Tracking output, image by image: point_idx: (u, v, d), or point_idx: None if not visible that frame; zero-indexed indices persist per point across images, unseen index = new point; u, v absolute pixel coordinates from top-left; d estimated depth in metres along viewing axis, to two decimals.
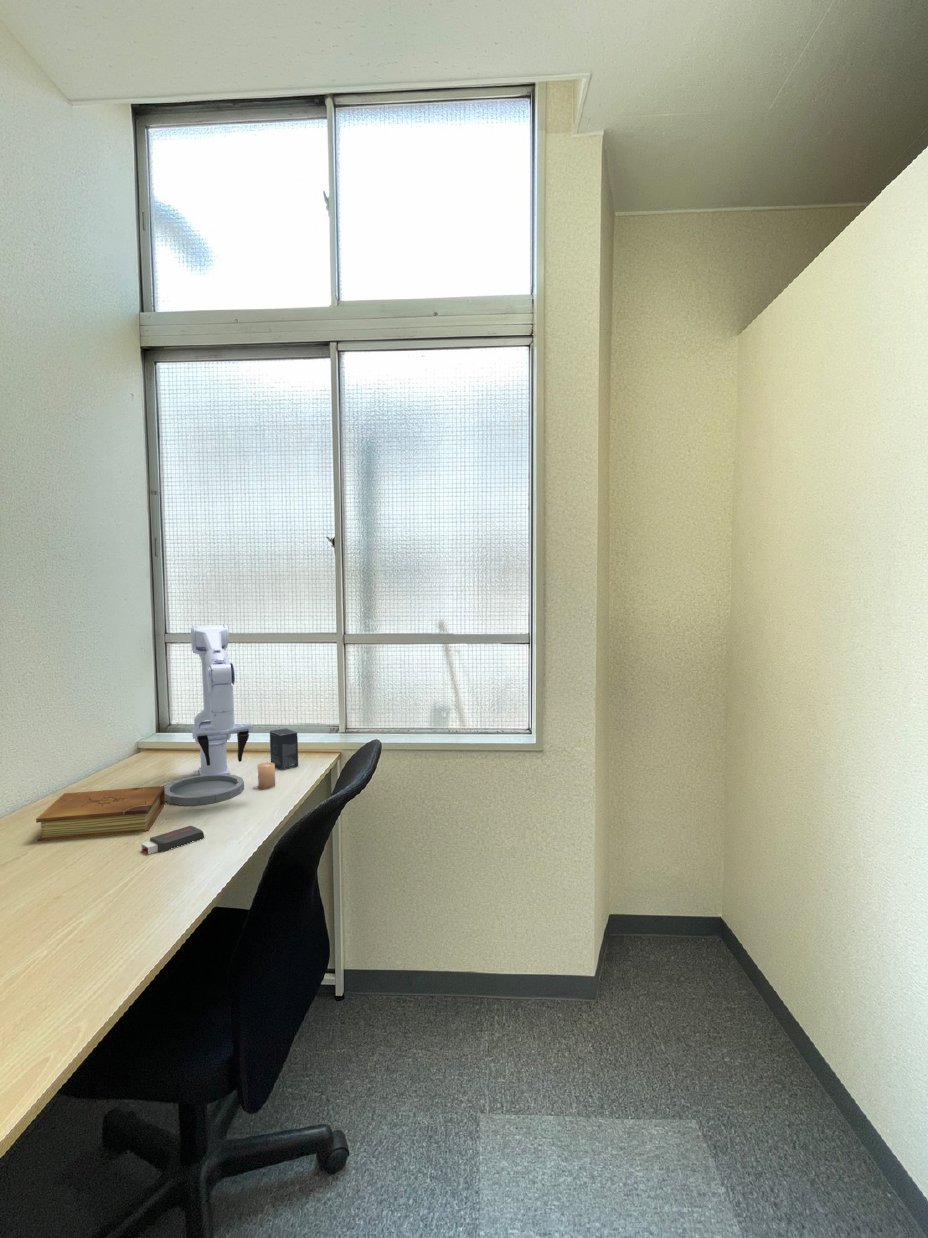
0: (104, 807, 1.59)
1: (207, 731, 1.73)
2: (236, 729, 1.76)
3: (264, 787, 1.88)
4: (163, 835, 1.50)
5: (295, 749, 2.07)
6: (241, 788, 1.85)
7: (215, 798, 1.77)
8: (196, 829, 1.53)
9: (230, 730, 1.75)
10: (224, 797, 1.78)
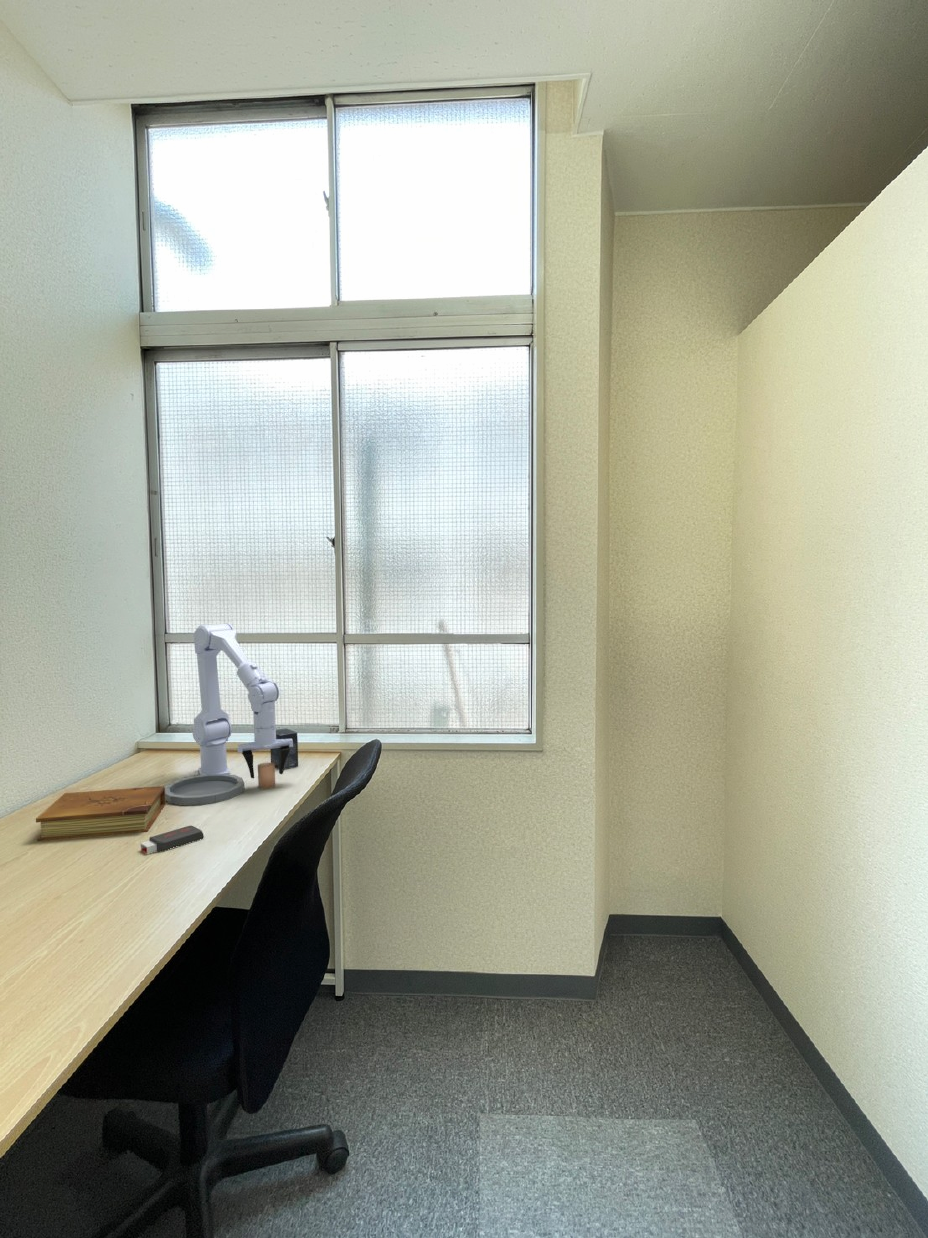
0: (104, 807, 1.59)
1: (251, 746, 1.86)
2: (278, 744, 1.88)
3: (264, 787, 1.88)
4: (162, 835, 1.50)
5: (295, 749, 2.07)
6: (241, 788, 1.85)
7: (215, 798, 1.77)
8: (196, 829, 1.53)
9: (273, 745, 1.87)
10: (224, 797, 1.78)
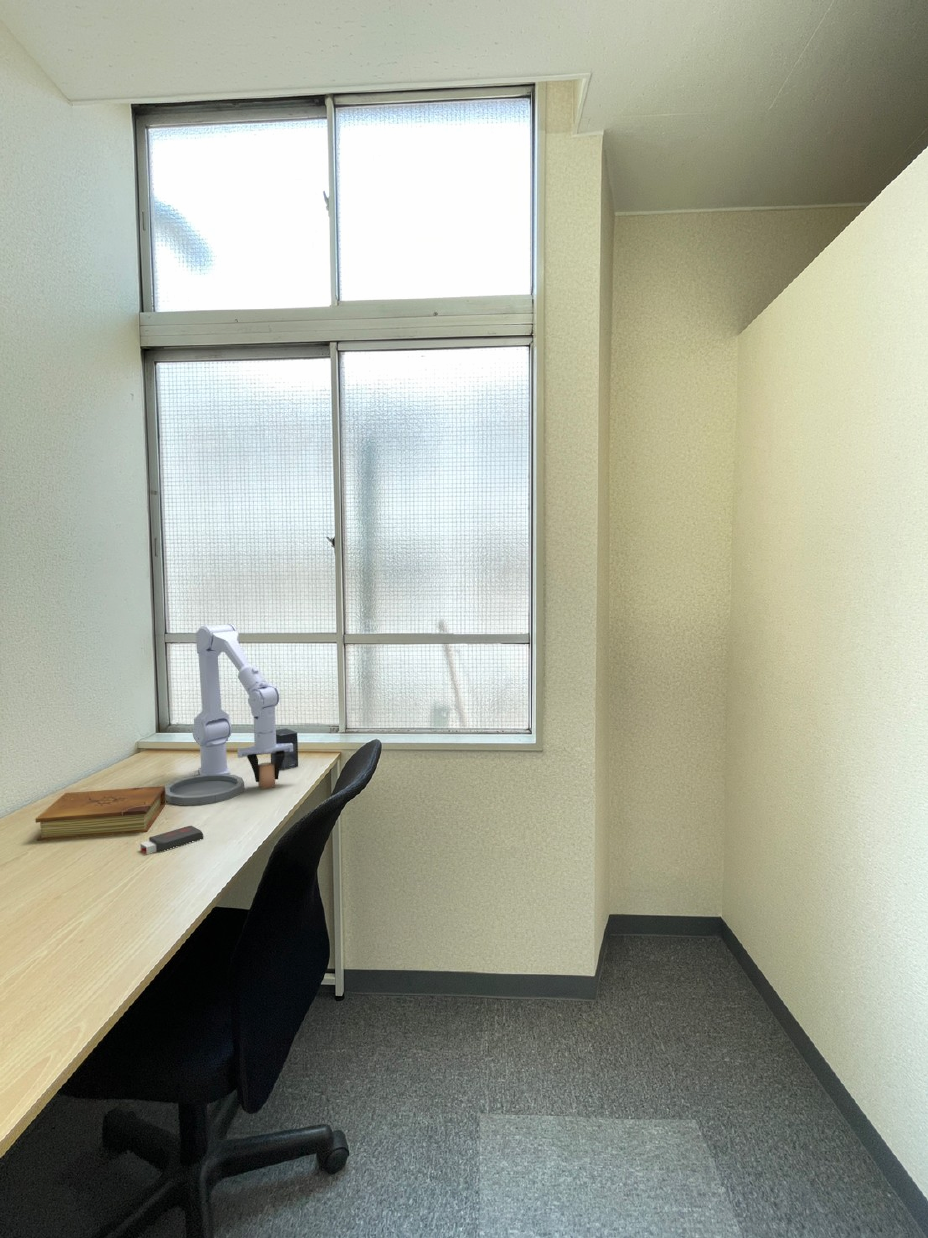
0: (104, 807, 1.59)
1: (252, 751, 1.86)
2: (278, 748, 1.88)
3: (264, 787, 1.87)
4: (162, 835, 1.50)
5: (295, 749, 2.07)
6: (241, 788, 1.85)
7: (215, 798, 1.77)
8: (195, 829, 1.53)
9: (273, 750, 1.87)
10: (224, 797, 1.78)
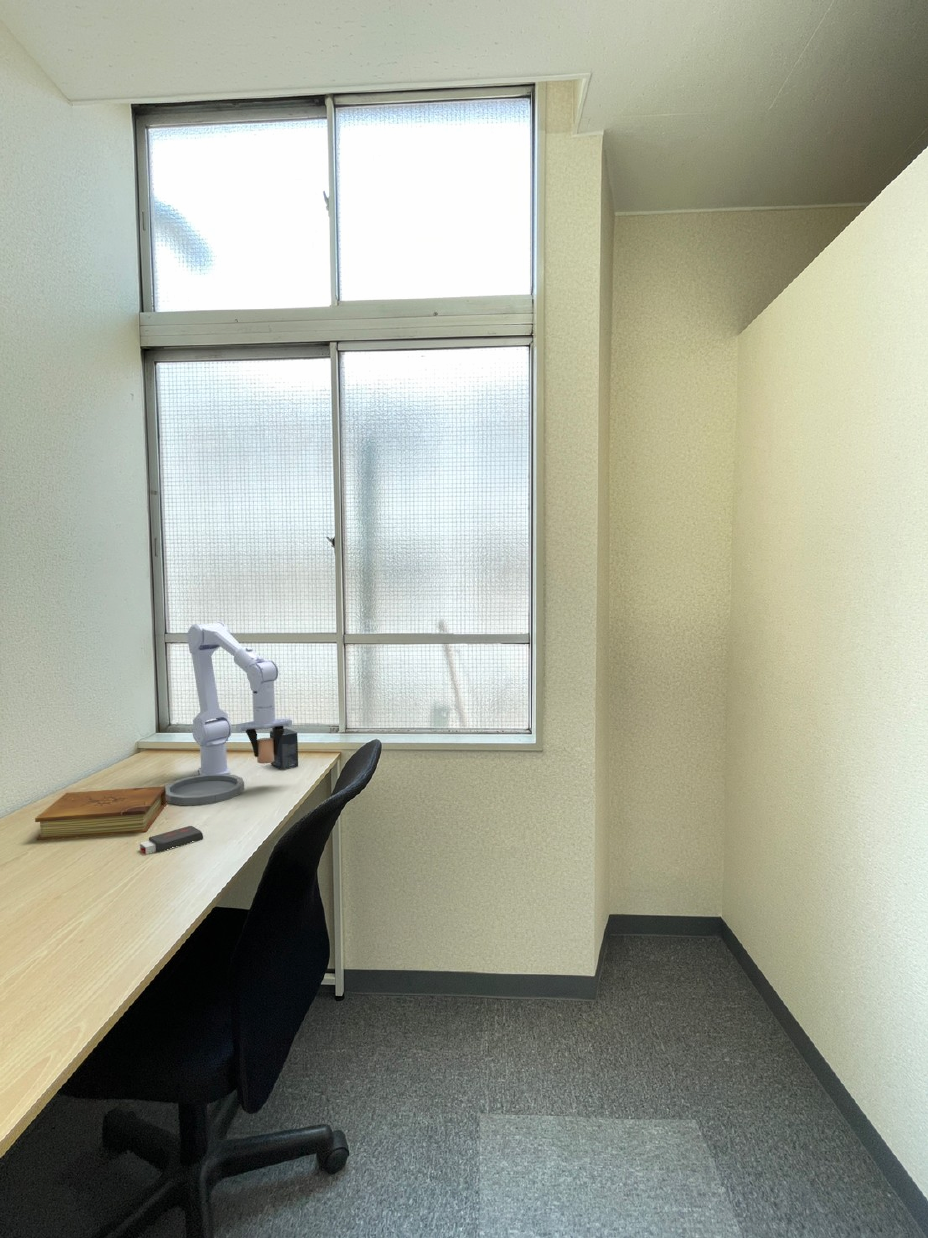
0: (103, 807, 1.59)
1: (250, 725, 1.85)
2: (277, 723, 1.88)
3: (263, 762, 1.87)
4: (162, 835, 1.50)
5: (295, 749, 2.07)
6: (241, 788, 1.85)
7: (215, 798, 1.77)
8: (195, 829, 1.53)
9: (272, 724, 1.87)
10: (224, 797, 1.78)
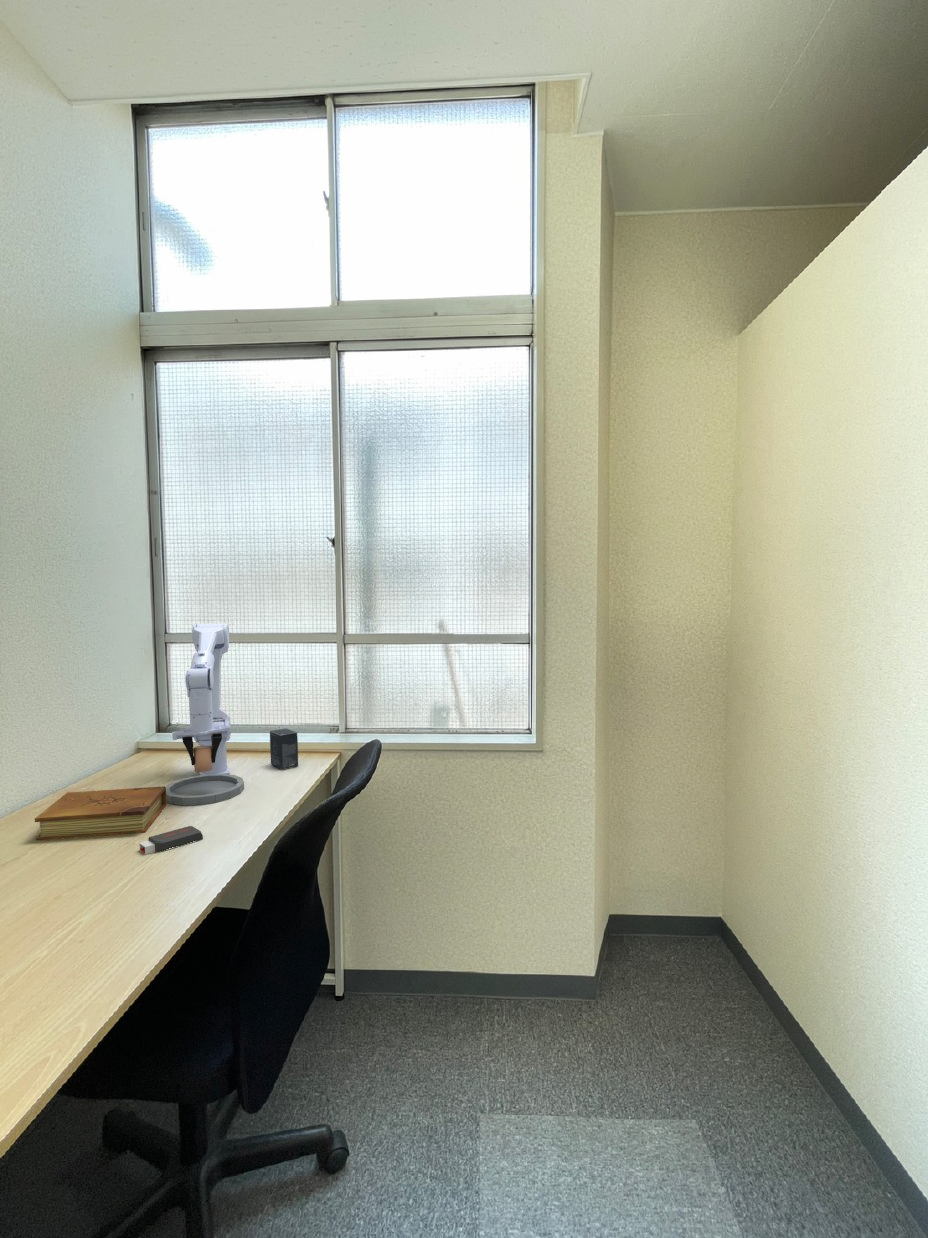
0: (103, 807, 1.59)
1: (186, 733, 1.80)
2: (214, 731, 1.83)
3: (200, 770, 1.82)
4: (162, 835, 1.50)
5: (295, 749, 2.07)
6: (241, 788, 1.85)
7: (215, 798, 1.77)
8: (195, 830, 1.53)
9: (209, 732, 1.82)
10: (224, 797, 1.78)
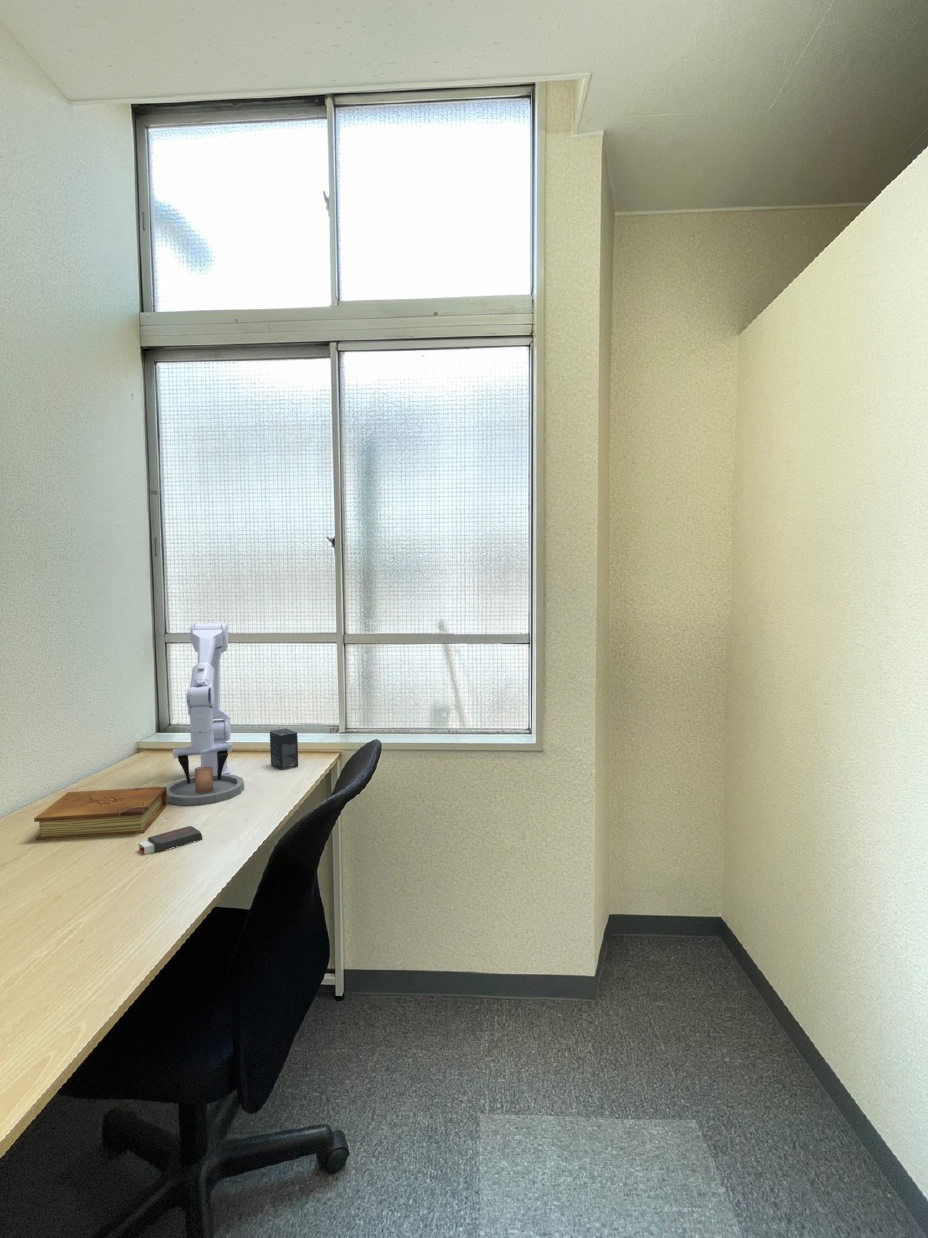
0: (102, 807, 1.59)
1: (187, 751, 1.81)
2: (215, 749, 1.83)
3: (201, 791, 1.83)
4: (161, 835, 1.50)
5: (295, 749, 2.07)
6: (241, 788, 1.85)
7: (215, 798, 1.77)
8: (194, 830, 1.53)
9: (209, 750, 1.82)
10: (224, 797, 1.78)
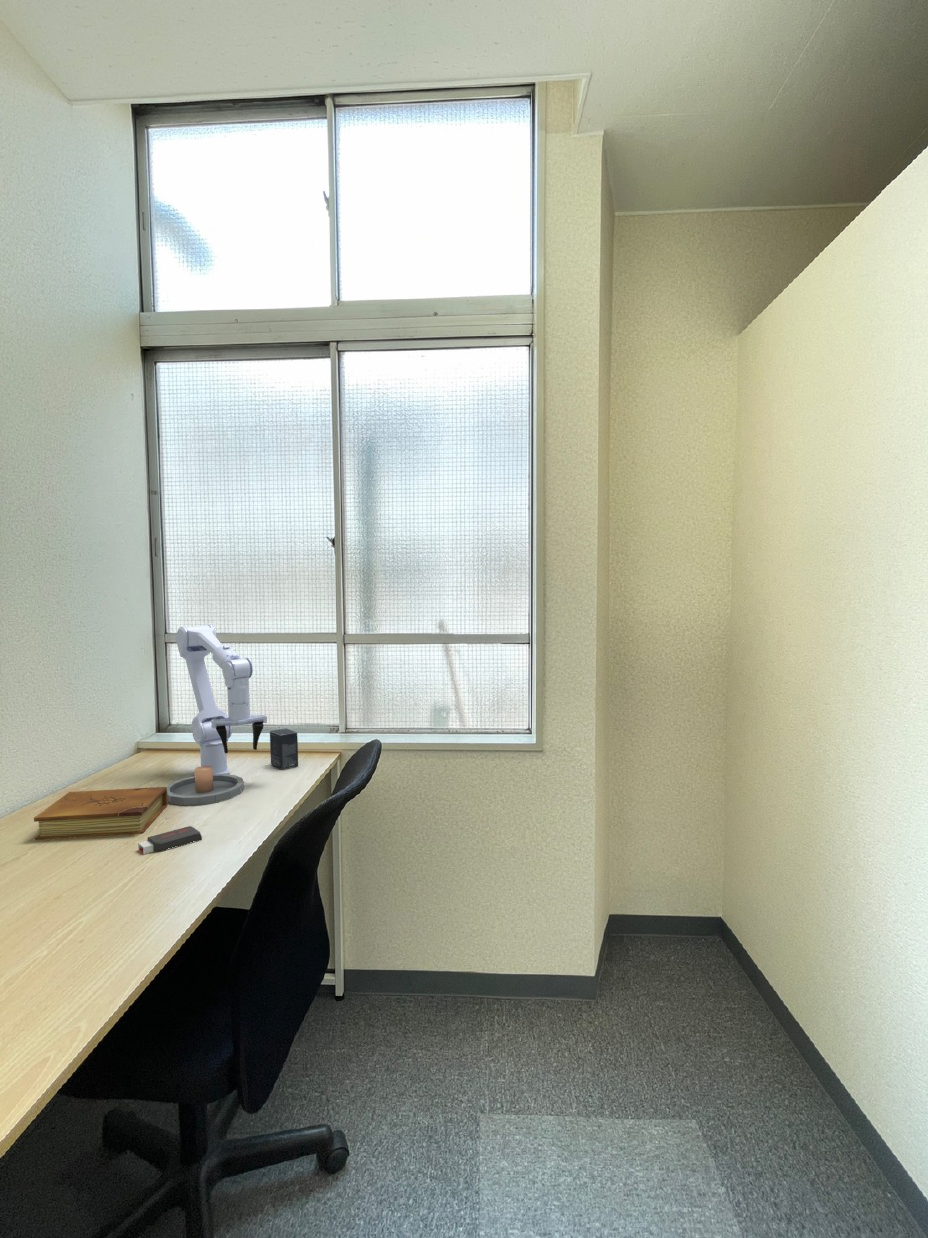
0: (102, 807, 1.59)
1: (225, 721, 1.87)
2: (252, 719, 1.90)
3: (201, 791, 1.83)
4: (161, 835, 1.50)
5: (295, 749, 2.07)
6: (241, 788, 1.85)
7: (215, 798, 1.77)
8: (194, 830, 1.52)
9: (246, 720, 1.89)
10: (224, 797, 1.78)
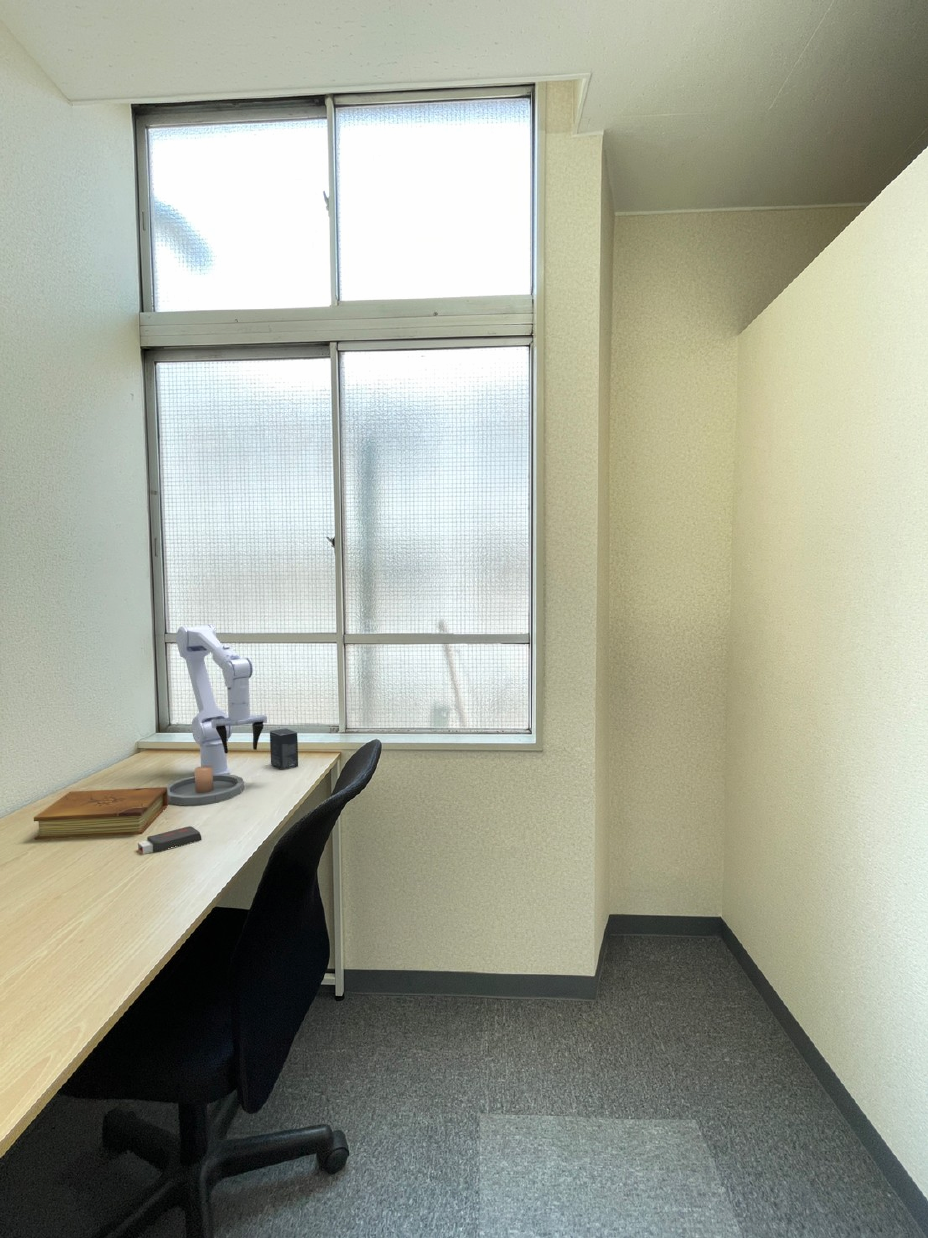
0: (101, 807, 1.59)
1: (225, 721, 1.87)
2: (252, 719, 1.90)
3: (201, 791, 1.83)
4: (160, 835, 1.50)
5: (295, 749, 2.07)
6: (241, 788, 1.85)
7: (215, 798, 1.77)
8: (194, 830, 1.52)
9: (246, 720, 1.89)
10: (224, 797, 1.78)
